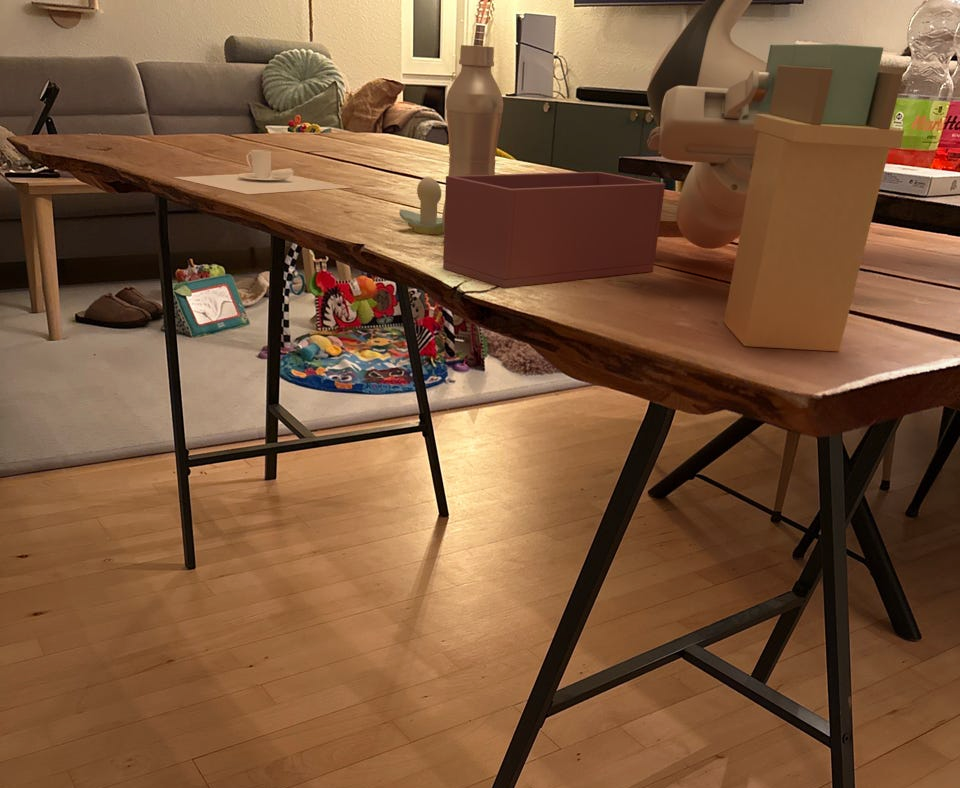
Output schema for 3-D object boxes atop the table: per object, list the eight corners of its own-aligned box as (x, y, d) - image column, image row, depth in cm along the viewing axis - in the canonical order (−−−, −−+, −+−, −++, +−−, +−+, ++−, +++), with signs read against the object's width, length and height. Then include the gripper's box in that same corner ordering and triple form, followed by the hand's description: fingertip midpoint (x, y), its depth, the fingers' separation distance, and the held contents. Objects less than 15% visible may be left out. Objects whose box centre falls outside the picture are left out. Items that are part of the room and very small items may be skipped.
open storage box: (589, 254, 112) (598, 171, 108) (653, 271, 106) (665, 183, 101) (442, 268, 101) (445, 175, 96) (503, 288, 94) (510, 189, 90)
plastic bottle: (460, 250, 110) (468, 45, 100) (431, 239, 115) (436, 43, 105) (506, 247, 113) (519, 48, 103) (476, 237, 118) (486, 46, 108)
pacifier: (410, 226, 123) (394, 232, 118) (411, 172, 120) (395, 175, 115) (465, 232, 122) (452, 237, 117) (468, 177, 119) (454, 181, 114)
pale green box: (758, 109, 87) (770, 44, 84) (798, 112, 87) (811, 47, 84) (817, 123, 71) (834, 44, 69) (865, 126, 71) (884, 47, 69)
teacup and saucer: (301, 182, 154) (300, 153, 151) (260, 184, 149) (258, 155, 146) (268, 175, 159) (267, 147, 156) (227, 177, 153) (225, 149, 151)
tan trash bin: (718, 317, 88) (764, 64, 78) (805, 322, 89) (862, 70, 78) (749, 352, 78) (807, 67, 68) (847, 358, 78) (919, 74, 68)
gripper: (645, 119, 96) (677, 35, 82) (848, 131, 96) (914, 50, 82) (641, 183, 96) (673, 110, 82) (844, 195, 96) (910, 125, 83)
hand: (796, 80), depth 82 cm, fingers open, 5 cm apart
